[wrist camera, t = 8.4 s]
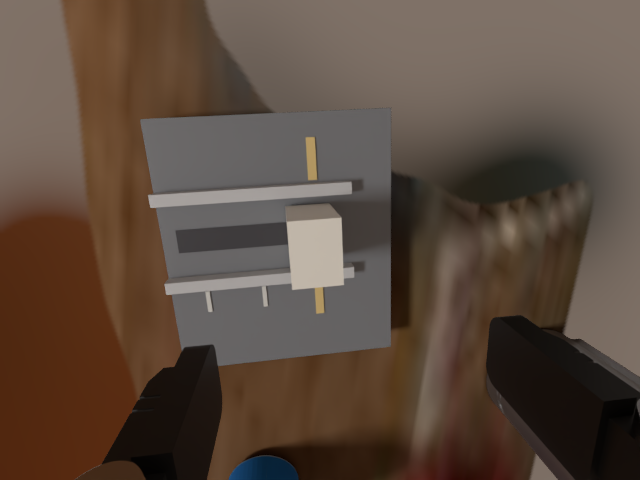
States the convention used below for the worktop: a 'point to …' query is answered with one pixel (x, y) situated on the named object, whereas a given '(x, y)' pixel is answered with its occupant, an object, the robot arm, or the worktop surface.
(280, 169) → the fader console
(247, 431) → the worktop surface
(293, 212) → the fader tab
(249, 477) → the beverage can
